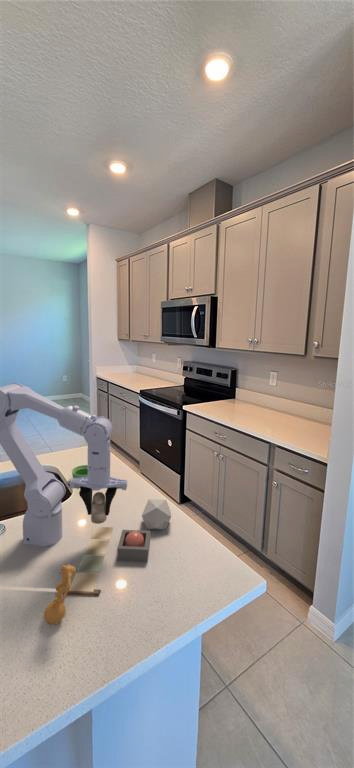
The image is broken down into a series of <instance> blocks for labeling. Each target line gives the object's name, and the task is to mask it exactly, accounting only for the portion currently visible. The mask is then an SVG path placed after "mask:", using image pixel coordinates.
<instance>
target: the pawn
mask: <svg viewBox="0 0 354 768" xmlns="http://www.w3.org/2000/svg"><path fill="white" fill-rule="evenodd" d="M105 511H106V498H105V493H103V492H102V491H97V492H95V493H94V494H93V495H92V501H91V515H90V521H91V523H93V524H96V525H97V524H98V525H99V524H102V523H105V522H106V521H107V516H108V515H106V514H105Z"/></svg>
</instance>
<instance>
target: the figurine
mask: <svg viewBox="0 0 354 768" xmlns="http://www.w3.org/2000/svg"><path fill="white" fill-rule="evenodd" d="M76 572H77V570H76V567H75V566H74V565H71V564H69V563H68V564H66V565H65V564H64V565H62V566H61V568H60V572H59V575H61V574H62V575H61V578H62V579H61V581H60V582H59V583H58V585H56V587H55V590H56V592H55V599H53V600H52V601H50V602H49V603H48V604H47V605H46V607H45V608H44V612H43V616H44V617H43V618H44V620H45V622H46V623H47V624H49V625H56V624H59V623H60V622H61V621H62V620H63V619H64V618H65V614H66V606H65V604H64V601H65V598H66V596H67V593H68V591H69V589H70V586H71V584H72V580H73V578H74V577H75V574H76ZM65 590H66V591H65ZM64 592H65V593H64ZM62 593H64V594H62Z"/></svg>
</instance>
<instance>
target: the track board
mask: <svg viewBox="0 0 354 768" xmlns="http://www.w3.org/2000/svg"><path fill="white" fill-rule="evenodd" d="M113 531H114V527H113V526H112V527H111V526H94V528H93V530H92V533H91V536H90V538H89V541H88V543H87V546H86V548H85V550H84V553H83V554H84V555H82V557H81V560H80V562H79V564H78V567H77V570H76V572H75V574H74V576H73V578H72V581H71V585H70V589H69V591H68V593H67V595H69V596H70V595H71V596H72V595H73V596H94V597H97V596H100V593H101V589H95V588H96V585H97V582H98V579H99V575H100V572H101V568H102V567H103V566H102V565H103V562H104V558H105V555H106V553H107V549H108V547H109V544H110V539H111V538H112V533H113ZM96 572H97V573H96ZM65 591H66V590H65ZM64 593H65V592H64ZM64 593H62V594H63V595H64ZM67 595H66V596H67Z"/></svg>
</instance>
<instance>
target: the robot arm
mask: <svg viewBox="0 0 354 768" xmlns="http://www.w3.org/2000/svg"><path fill="white" fill-rule="evenodd" d="M23 409H29V410H32V411H35V412H37V413H40V414H42V415H44V416H47V417H50V418H53V419H54V420H55V419H56V420H57V422H58V424H59V426H60V427H62V428H64V429H66V430H68V431H69V432H70V431H71V432H72V433H74V434H77V435H79V436H81V437H83V439H84V441H85V442H86V443H87V465H88V477H82V478H73V477H72V478H71V480H70V481H69V489H75V488H80V489H79V491H78V494H79V497H80V498H81V500H82V501H83V503H84V505H85V508H86V511H87V512H86V513H87V515H88V516H91V501H92V500H93V491H97V492H100V491H101V489H102V490H103V489H106V490H105V493H104V495H105V499H106V511H105V514H106V515H107V516H109V515H110V511H111V504H112V502H113V499H114V497H115V496H116V494H117V490H121V489H122V491H127V489H128V480H127V479H121V478H117V477H111V437H110V436H112V433H113V432H114V424H113V423H112V421H111V420H110V419H109V418H108V417H106V416H103V415H102V416H97V415H96V414H92V413H91V414H90V413H89V412H86V411H84V410H81V407H80V406H78V405H73V406H72V405H69V406H65V407H64V406H62V405H60V404H58V403H56V402H54V401H52V400H51V399H49V398H47V397H45V396H43V395H41V394H39V393H37V392H36V391H34V390H33V389H32V388H31V387H29V386H26V385H23V384H21V383H19V382H12V383H9V384H7V385H4V386H0V446H1V447H2V449H3V450H4V452H5V454H6V456H7V457H8V459H9V460H10V462H11V463H12V464H13V467H14V468H15V470H16V471H17V473H18V474H19V476H20V477H21V479H22V481H23V482H24V483H25V487H24V488H25V489H24V493H23V497H24V498H25V501H26V503H27V504H26V505H27V510H26V511H25V513H24V516H23V518H22V519H23V520H22V539H23V540H22V541H23V542H22V543H23V545H33V546H34V545H35V546H39V547H49V546H53V545H56V544H57V543H59V542H60V541H61V540H62V539H63V505H62V499H63V498H64V496H65V495H66V492H67V491H66V486H65V485H64V483H63V482H61V481H60V480H59V479H58V478H57V477H56V476H55V475H54V473H51V472H48V471H46V470H45V469H44V467H43V466H42V464H41V462H40V461H39V459H38V458H37V455H35V453H34V451H33V449H32V448H31V446H30V445H29V443H28V441H27V440H26V438H25V437H24V435H23V434H22V432H21V431H20V428H19V427H18V426H17V424H16V419H17V417H18V415H19V414H18V413H19V412H20V410H23Z"/></svg>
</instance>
